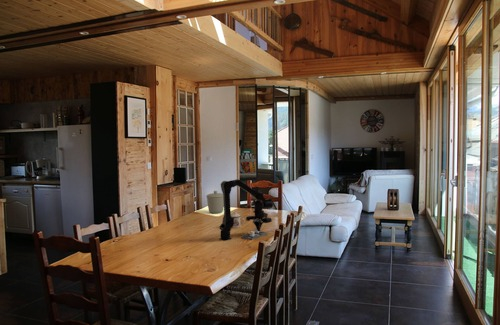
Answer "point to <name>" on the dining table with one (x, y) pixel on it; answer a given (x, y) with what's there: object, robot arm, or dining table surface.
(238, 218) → the teacup with lid
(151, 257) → the dining table surface
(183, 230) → the dining table surface
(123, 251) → the dining table surface
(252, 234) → the tab
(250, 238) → the switch bank
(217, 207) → the canister
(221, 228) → the robot arm
